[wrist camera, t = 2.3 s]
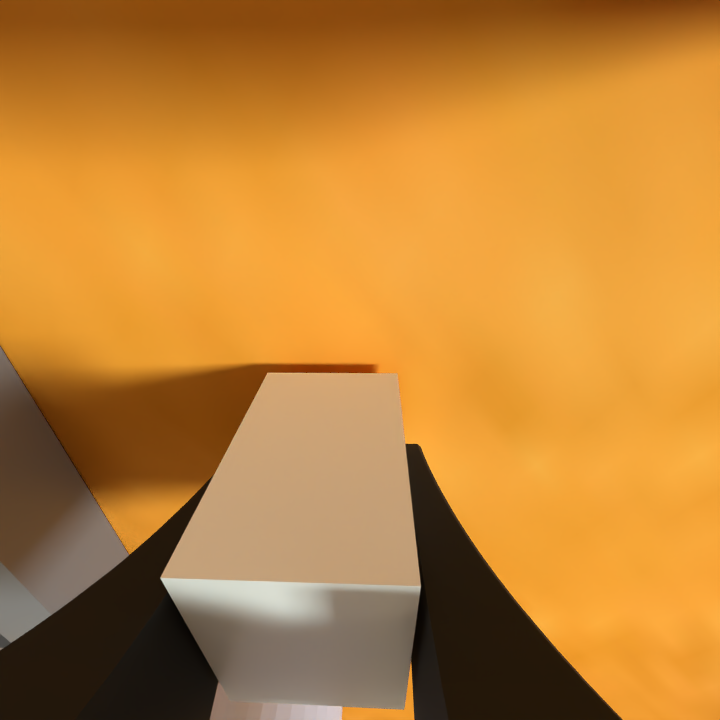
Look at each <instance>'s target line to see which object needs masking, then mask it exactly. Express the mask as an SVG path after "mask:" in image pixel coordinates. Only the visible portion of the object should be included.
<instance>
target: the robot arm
mask: <svg viewBox="0 0 720 720" xmlns="http://www.w3.org/2000/svg"><path fill="white" fill-rule="evenodd" d="M405 446H406V455H407V464H408V474H409V483H410V492H411V501H412V510H413V519H414V528H415V537H416V547H417V556H418V565H419V574H420V583H421V589H420V596H419V604H418V611H417V619H416V626H415V633H414V641H413V648H412V655H411V664H412V682H413V700H414V718H415V720H622V719H621V718H620V717H619V716H618V714H617V713H616V712H615V711H614V710H613V709H612V708H611V707H610V706H609V705H608V704H607V703H606V702H605V701H604V700H603V699H602V698H601V697H600V696H599V695H598V694H597V692H596V691H595V690H594V689H593V688H592V687H591V686H590V685H589V684H588V683H587V682H586V681H585V680H584V679H583V678H582V676H581V675H580V674H579V673H578V672H577V671H576V670H575V669H574V668H573V667H572V665H571V664H570V663H569V662H568V661H567V660H566V659H565V658H564V657H563V656H562V654H561V653H560V652H559V651H558V650H557V649H556V648H555V647H554V645H553V644H552V643H551V642H550V641H549V640H548V638H547V637H546V636H545V635H544V634H543V632H542V631H541V630H540V629H539V628H538V627H537V625H536V624H535V623H534V622H533V621H532V619H531V618H530V617H529V616H528V615H527V614H526V612H525V611H524V610H523V609H522V608H521V606H520V605H519V604H518V603H517V602H516V600H515V599H514V598H513V597H512V595H511V594H510V593H509V591H508V590H507V589H506V588H505V586H504V585H503V584H502V582H501V581H500V580H499V579H498V577H497V576H496V575H495V573H494V572H493V570H492V569H491V568H490V566H489V565H488V564H487V562H486V561H485V560H484V558H483V557H482V555H481V554H480V552H479V551H478V550H477V548H476V547H475V545H474V544H473V542H472V541H471V539H470V538H469V536H468V535H467V533H466V532H465V530H464V528H463V527H462V525H461V524H460V522H459V521H458V519H457V517H456V516H455V514H454V512H453V511H452V509H451V507H450V506H449V504H448V502H447V500H446V499H445V497H444V495H443V493H442V492H441V490H440V488H439V486H438V484H437V482H436V480H435V478H434V476H433V474H432V472H431V470H430V468H429V466H428V464H427V462H426V459H425V457H424V455H423V452H422V449H421V447H420V446H419V445H418V444H405ZM213 476H214V475H213ZM213 476H212V477H211V478H210V479H209V480H208V481H207V482H206V483H205V485H204V486H203V487H202V488H201V489H200V490H199V491H198V492H197V493H196V494H195V495H194V496H193V497H192V498H191V499H190V500H189V501H188V502H187V503H186V504H185V505H184V506H183V507H182V508H181V509H180V510H179V511H178V512H176V513H175V514H174V515H173V516H172V517H171V518H170V519H169V520H168V521H167V522H166V523H165V524H164V525H163V526H162V527H161V528H160V529H159V530H157V531H156V532H155V533H154V534H153V535H152V536H151V537H150V538H149V539H147V540H146V541H145V542H144V543H143V544H142V545H141V546H139V547H138V548H137V549H136V550H135V551H134V552H132V553H131V554H130V555H129V556H128V557H126V558H125V559H124V560H123V561H122V562H120V563H119V564H118V565H117V566H116V567H114V568H113V569H112V570H110V571H109V572H108V573H107V574H105V575H104V576H103V577H102V578H100V579H99V580H98V581H96V582H95V583H94V584H92V585H91V586H90V587H88V588H87V589H86V590H84V591H83V592H82V593H81V594H79V595H78V596H77V597H75V598H74V599H73V600H71V601H70V602H69V603H67V604H66V605H65V606H63V607H62V608H61V609H59V610H58V611H56V612H55V613H53V614H52V615H51V616H49V617H48V618H46V619H45V620H44V621H42V622H41V623H39V624H38V625H36V626H35V627H34V628H32V629H31V630H29V631H28V632H26V633H25V634H23V635H22V636H20V637H19V638H17V639H16V640H15V641H13V642H12V643H10V644H9V645H7V646H6V647H4V648H3V649H1V650H0V720H342V707H341V706H320V705H299V704H278V703H258V702H237V701H230V700H229V698H228V696H227V695H226V693H225V691H224V689H223V688H222V686H221V684H220V682H219V681H218V679H217V677H216V675H215V674H214V672H213V670H212V668H211V667H210V665H209V663H208V661H207V660H206V658H205V656H204V654H203V652H202V651H201V649H200V647H199V645H198V644H197V642H196V640H195V638H194V637H193V635H192V633H191V631H190V630H189V628H188V626H187V624H186V623H185V621H184V619H183V617H182V616H181V614H180V612H179V610H178V609H177V607H176V605H175V603H174V601H173V600H172V598H171V596H170V594H169V593H168V591H167V589H166V587H165V586H164V584H163V582H162V580H161V579H160V577H161V575H162V573H163V571H164V570H165V568H166V566H167V564H168V562H169V560H170V558H171V556H172V554H173V552H174V550H175V549H176V547H177V545H178V543H179V541H180V539H181V537H182V535H183V533H184V531H185V529H186V528H187V526H188V524H189V522H190V520H191V518H192V516H193V514H194V512H195V510H196V508H197V507H198V505H199V503H200V501H201V499H202V497H203V495H204V493H205V491H206V489H207V487H208V486H209V484H210V482H211V480H212V478H213Z"/></svg>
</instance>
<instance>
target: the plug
mask: <svg viewBox="0 0 720 720" xmlns="http://www.w3.org/2000/svg"><path fill="white" fill-rule="evenodd" d="M160 579H161V580H162V582H163V584H164V586H165V587H166V589H167V591H168V593H169V594H170V596H171V598H172V600H173V601H174V603H175V605H176V607H177V609H178V610H179V612H180V614H181V616H182V617H183V619H184V621H185V623H186V624H187V626H188V628H189V630H190V631H191V633H192V635H193V637H194V638H195V640H196V642H197V644H198V645H199V647H200V649H201V651H202V652H203V654H204V656H205V658H206V660H207V661H208V663H209V665H210V667H211V668H212V670H213V672H214V674H215V675H216V677H217V679H218V681H219V682H220V684H221V686H222V688H223V689H224V691H225V693H226V695H227V696H228V698H229V700H230V701H237V702H258V703H278V704H299V705H320V706H341V707H362V708H383V709H404V707H405V700H406V692H407V685H408V677H409V670H410V663H411V655H412V648H413V641H414V633H415V626H416V619H417V611H418V604H419V596H420V589H421V583H420V574H419V565H418V556H417V547H416V537H415V528H414V519H413V510H412V501H411V492H410V483H409V474H408V464H407V455H406V446H405V437H404V428H403V419H402V410H401V401H400V391H399V382H398V373H267V375H266V377H265V379H264V380H263V382H262V384H261V386H260V388H259V390H258V392H257V394H256V396H255V398H254V400H253V402H252V403H251V405H250V407H249V409H248V411H247V413H246V415H245V417H244V419H243V421H242V423H241V424H240V426H239V428H238V430H237V432H236V434H235V436H234V438H233V440H232V442H231V444H230V445H229V447H228V449H227V451H226V453H225V455H224V457H223V459H222V461H221V463H220V465H219V466H218V468H217V470H216V472H215V474H214V476H213V478H212V480H211V482H210V484H209V486H208V487H207V489H206V491H205V493H204V495H203V497H202V499H201V501H200V503H199V505H198V507H197V508H196V510H195V512H194V514H193V516H192V518H191V520H190V522H189V524H188V526H187V528H186V529H185V531H184V533H183V535H182V537H181V539H180V541H179V543H178V545H177V547H176V549H175V550H174V552H173V554H172V556H171V558H170V560H169V562H168V564H167V566H166V568H165V570H164V571H163V573H162V575H161V577H160Z"/></svg>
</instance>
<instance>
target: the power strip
mask: <svg viewBox="0 0 720 720" xmlns="http://www.w3.org/2000/svg"><path fill="white" fill-rule="evenodd" d="M128 556H129V554H128V552H127V551H126V549H125V548H124V546H123V544H122V543H121V541H120V539H119V538H118V536H117V535H116V533H115V531H114V530H113V528H112V527H111V525H110V523H109V522H108V520H107V518H106V517H105V515H104V514H103V512H102V510H101V509H100V507H99V505H98V504H97V502H96V501H95V499H94V497H93V496H92V494H91V492H90V491H89V489H88V488H87V486H86V484H85V483H84V481H83V480H82V478H81V476H80V475H79V473H78V471H77V470H76V468H75V467H74V465H73V463H72V462H71V460H70V458H69V457H68V455H67V454H66V452H65V450H64V449H63V447H62V445H61V444H60V442H59V441H58V439H57V437H56V436H55V434H54V432H53V431H52V429H51V428H50V426H49V424H48V423H47V421H46V420H45V418H44V416H43V415H42V413H41V411H40V410H39V408H38V407H37V405H36V403H35V402H34V400H33V398H32V397H31V395H30V394H29V392H28V390H27V389H26V387H25V385H24V384H23V382H22V381H21V379H20V377H19V376H18V374H17V373H16V371H15V369H14V368H13V366H12V364H11V363H10V361H9V360H8V358H7V356H6V355H5V353H4V351H3V350H2V348H1V347H0V650H1V649H3V648H4V647H6V646H7V645H9V644H10V643H12V642H13V641H15V640H16V639H17V638H19V637H20V636H22V635H23V634H25V633H26V632H28V631H29V630H31V629H32V628H34V627H35V626H36V625H38V624H39V623H41V622H42V621H44V620H45V619H46V618H48V617H49V616H51V615H52V614H53V613H55V612H56V611H58V610H59V609H61V608H62V607H63V606H65V605H66V604H67V603H69V602H70V601H71V600H73V599H74V598H75V597H77V596H78V595H79V594H81V593H82V592H83V591H84V590H86V589H87V588H88V587H90V586H91V585H92V584H94V583H95V582H96V581H98V580H99V579H100V578H102V577H103V576H104V575H105V574H107V573H108V572H109V571H110V570H112V569H113V568H114V567H116V566H117V565H118V564H119V563H120V562H122V561H123V560H124V559H125V558H126V557H128Z"/></svg>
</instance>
